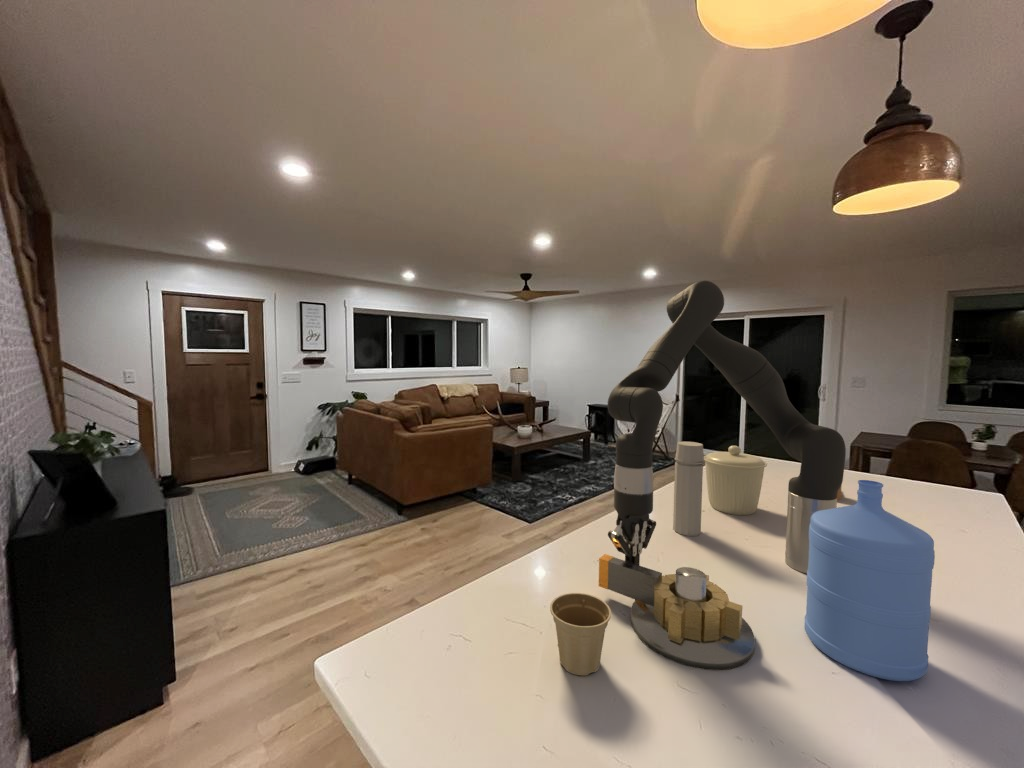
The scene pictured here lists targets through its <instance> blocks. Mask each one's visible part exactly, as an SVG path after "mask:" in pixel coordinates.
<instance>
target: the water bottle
mask: <svg viewBox="0 0 1024 768" xmlns="http://www.w3.org/2000/svg"><path fill="white" fill-rule="evenodd" d="M675 450H676V451H675V457H674V460H675V462H674V481H673V482H674V486H673V487H674V488H673V520H672V521H673V522H672V524H673V525H672V529H673V530H674V531H676V532H675V533H677V534H680V535H681V534H682V536H686V537H695V536H696V537H697V536H699V535H700V534H701V532H702V505H703V503H702V502H703V475H704V474H703V473H704V465H705V460H704V456H705V454H704V444H703V443H699V442H697V441H696V442H695V441H678V442H677V444H676V449H675Z"/></svg>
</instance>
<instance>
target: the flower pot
mask: <svg viewBox="0 0 1024 768" xmlns="http://www.w3.org/2000/svg"><path fill="white" fill-rule="evenodd" d="M549 609H550V613H551V616H552V618H553V621H554V624H555V630H556V640H557V647H558V656H559V662H560V664H561V665H562V666H563V668H564V669H565V671H567V672H568V673H571V674H572V675H576V676H588V675H589V674H592V673H596V672H597V671H598V670H599V668H600V666H601V659H602V652H603V646H604V638H605V633H606V629H607V626H608V624H609V622H610V620H611V617H612V610H611V607H610V606H609V604H608V603H607V602H605V601H604V600H603V599H602V598H599V597H597V596H596V595H592V594H589V593H584V592H583V593H582V592H568V593H564V594H560V595H558V596H557V597H555V598H554V599H552V601H551V602H550V606H549Z"/></svg>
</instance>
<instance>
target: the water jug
mask: <svg viewBox="0 0 1024 768" xmlns="http://www.w3.org/2000/svg"><path fill="white" fill-rule="evenodd" d="M857 483H858V489H857V492H856V495H857V501H856V502H855V503H854V504H852V505H851V504H850V505H845V506H840V507H837V508H832V509H826V510H821V511H817V512H815V513H814V514H812V516H811V522H810V526H809V541H810V543H809V564H808V571H807V574H806V586H807V589H806V609H805V610H806V612H805V615H804V632H805V634H806V635H807V638H808V639H809V640H810V641H811V643H812V644H814V646H816V648H818V649H819V650H820V651H821V652H822V653H824V654H825V655H826V656H828V657H829V658H830V659H832V660H834V661H836V662H837V663H838V664H841V665H843V666H845V667H847V668H849V669H852V670H854V671H857V672H860V673H862V674H865V675H867V676H871V677H874V678H876V679H877V678H879V679H883V680H888V681H893V682H894V681H895V682H909V681H910V682H912V681H915V680H919V679H921V678H922V677H924V676H925V675H926V674H927V672H928V668H929V655H928V648H929V647H928V646H929V630H930V623H931V611H932V610H931V607H932V606H931V598H932V594H931V593H932V582H933V570H934V568H935V567H934V566H935V559H936V557H935V556H936V555H935V554H936V553H935V552H936V551H935V549H934V548H935V540H934V539H933V538H932V536H931V535H930V533H927V531H925V530H923V529H921V528H919V527H917V526H916V525H914V524H912V523H910V522H908V521H906V520H904V519H902V518H900V517H899V516H897V515H894V514H893V513H891V512H889V511H886V509H884V508H883V497H884V496H883V495H884V494H883V487H884V484H883V483H882V482H879V481H875V480H868V479H859V480H857Z"/></svg>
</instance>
